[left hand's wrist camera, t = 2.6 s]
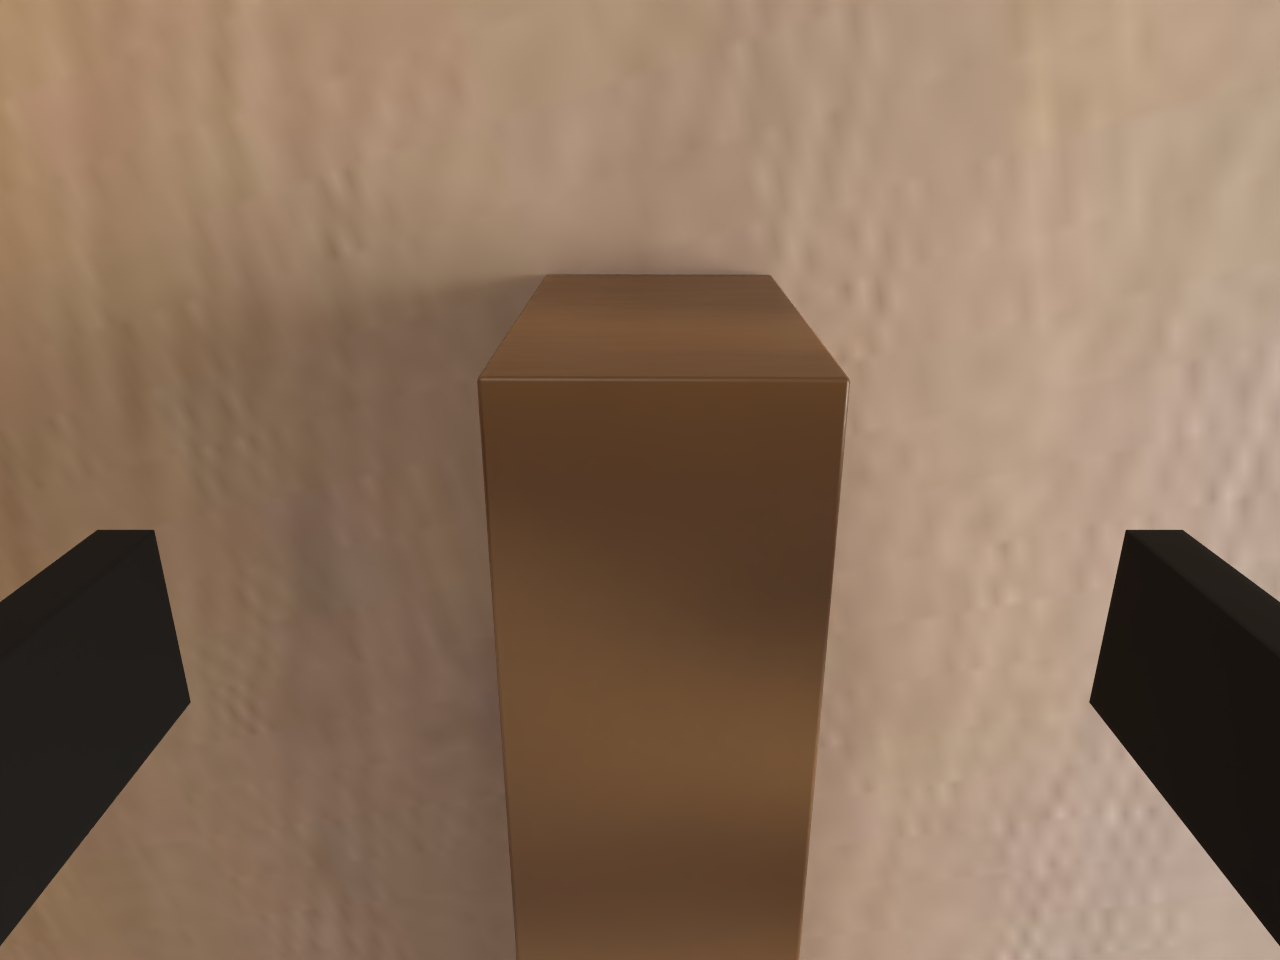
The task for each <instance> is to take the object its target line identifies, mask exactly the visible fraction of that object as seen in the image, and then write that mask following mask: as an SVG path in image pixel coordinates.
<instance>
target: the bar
mask: <svg viewBox="0 0 1280 960" xmlns="http://www.w3.org/2000/svg"><path fill="white" fill-rule="evenodd" d="M477 384H478V399H479V414H480V428H481V443H482V458H483V472H484V487H485V501H486V516H487V531H488V545H489V560H490V575H491V589H492V604H493V618H494V633H495V648H496V662H497V677H498V692H499V706H500V721H501V735H502V750H503V765H504V779H505V794H506V808H507V823H508V838H509V852H510V867H511V882H512V896H513V911H514V925H515V940H516V955H517V960H799V954H800V943H801V931H802V920H803V909H804V897H805V886H806V875H807V863H808V852H809V841H810V829H811V818H812V807H813V795H814V784H815V773H816V761H817V750H818V739H819V727H820V716H821V705H822V693H823V682H824V671H825V659H826V648H827V637H828V625H829V614H830V603H831V591H832V580H833V569H834V557H835V546H836V535H837V523H838V512H839V501H840V489H841V478H842V467H843V455H844V444H845V433H846V421H847V410H848V399H849V387H850V381H849V378H848V377H847V376H846V374H845V373H844V372H843V370H842V369H841V368H840V366H839V365H838V364H837V362H836V361H835V360H834V358H833V357H832V356H831V354H830V353H829V352H828V350H827V349H826V348H825V346H824V345H823V344H822V343H821V341H820V340H819V339H818V337H817V336H816V335H815V333H814V332H813V331H812V329H811V328H810V327H809V325H808V324H807V323H806V321H805V320H804V319H803V317H802V316H801V315H800V313H799V312H798V311H797V309H796V308H795V307H794V305H793V304H792V303H791V302H790V300H789V299H788V298H787V296H786V295H785V294H784V292H783V291H782V290H781V288H780V287H779V286H778V284H777V283H776V282H775V280H774V279H773V278H772V276H770V275H546V277H545V278H544V280H543V281H542V283H541V284H540V286H539V287H538V289H537V290H536V292H535V293H534V295H533V296H532V298H531V299H530V301H529V302H528V304H527V305H526V307H525V308H524V310H523V311H522V313H521V314H520V316H519V317H518V319H517V320H516V322H515V323H514V325H513V326H512V328H511V329H510V331H509V332H508V334H507V335H506V337H505V338H504V340H503V341H502V343H501V344H500V346H499V347H498V349H497V350H496V352H495V353H494V355H493V356H492V358H491V359H490V361H489V362H488V364H487V365H486V367H485V368H484V370H483V371H482V373H481V374H480V376H479V378H478V380H477Z"/></svg>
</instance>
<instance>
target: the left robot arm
mask: <svg viewBox="0 0 1280 960" xmlns="http://www.w3.org/2000/svg"><path fill="white" fill-rule="evenodd" d="M189 704H190V697H189V692H188V688H187V683H186V678H185V673H184V669H183V664H182V659H181V655H180V650H179V645H178V640H177V636H176V631H175V626H174V622H173V617H172V612H171V607H170V603H169V598H168V593H167V588H166V584H165V579H164V574H163V570H162V565H161V560H160V555H159V551H158V546H157V541H156V537H155V532H154V530H97V531H95V532H94V533H93V534H91V535H90V536H89V537H87V538H86V539H85V540H83V541H82V542H81V543H79V544H78V545H76V546H75V547H74V548H72V549H71V550H70V551H68V552H67V553H66V554H64V555H63V556H62V557H60V558H59V559H58V560H56V561H55V562H54V563H52V564H51V565H50V566H48V567H47V568H46V569H44V570H43V571H41V572H40V573H39V574H37V575H36V576H35V577H33V578H32V579H31V580H29V581H28V582H27V583H25V584H24V585H23V586H21V587H20V588H19V589H17V590H16V591H15V592H13V593H12V594H11V595H9V596H8V597H6V598H5V599H4V600H2V601H1V602H0V946H1V944H2V943H3V942H4V940H5V939H6V938H7V937H8V935H9V934H10V933H11V932H12V930H13V929H14V928H15V926H16V925H17V924H18V923H19V921H20V920H21V919H22V917H23V916H24V915H25V914H26V912H27V911H28V910H29V908H30V907H31V906H32V905H33V903H34V902H35V901H36V899H37V898H38V897H39V896H40V894H41V893H42V892H43V891H44V889H45V888H46V887H47V885H48V884H49V883H50V882H51V880H52V879H53V878H54V876H55V875H56V874H57V873H58V871H59V870H60V869H61V867H62V866H63V865H64V864H65V862H66V861H67V860H68V859H69V857H70V856H71V855H72V853H73V852H74V851H75V850H76V848H77V847H78V846H79V844H80V843H81V842H82V841H83V839H84V838H85V837H86V835H87V834H88V833H89V832H90V830H91V829H92V828H93V827H94V825H95V824H96V823H97V821H98V820H99V819H100V818H101V816H102V815H103V814H104V812H105V811H106V810H107V809H108V807H109V806H110V805H111V803H112V802H113V801H114V800H115V798H116V797H117V796H118V795H119V793H120V792H121V791H122V789H123V788H124V787H125V786H126V784H127V783H128V782H129V780H130V779H131V778H132V777H133V775H134V774H135V773H136V771H137V770H138V769H139V768H140V766H141V765H142V764H143V763H144V761H145V760H146V759H147V757H148V756H149V755H150V754H151V752H152V751H153V750H154V748H155V747H156V746H157V745H158V743H159V742H160V741H161V739H162V738H163V737H164V736H165V734H166V733H167V732H168V731H169V729H170V728H171V727H172V725H173V724H174V723H175V722H176V720H177V719H178V718H179V716H180V715H181V714H182V713H183V711H184V710H185V709H186V707H187V706H188V705H189ZM1090 704H1091V705H1092V706H1093V707H1094V709H1095V710H1096V711H1097V713H1098V714H1099V715H1100V716H1101V718H1102V719H1103V720H1104V722H1105V723H1106V724H1107V725H1108V727H1109V728H1110V729H1111V731H1112V732H1113V733H1114V734H1115V736H1116V737H1117V738H1118V739H1119V741H1120V742H1121V743H1122V745H1123V746H1124V747H1125V748H1126V750H1127V751H1128V752H1129V754H1130V755H1131V756H1132V757H1133V759H1134V760H1135V761H1136V763H1137V764H1138V765H1139V766H1140V768H1141V769H1142V770H1143V771H1144V773H1145V774H1146V775H1147V777H1148V778H1149V779H1150V780H1151V782H1152V783H1153V784H1154V786H1155V787H1156V788H1157V789H1158V791H1159V792H1160V793H1161V795H1162V796H1163V797H1164V798H1165V800H1166V801H1167V802H1168V803H1169V805H1170V806H1171V807H1172V809H1173V810H1174V811H1175V812H1176V814H1177V815H1178V816H1179V818H1180V819H1181V820H1182V821H1183V823H1184V824H1185V825H1186V827H1187V828H1188V829H1189V830H1190V832H1191V833H1192V834H1193V835H1194V837H1195V838H1196V839H1197V841H1198V842H1199V843H1200V844H1201V846H1202V847H1203V848H1204V850H1205V851H1206V852H1207V853H1208V855H1209V856H1210V857H1211V859H1212V860H1213V861H1214V862H1215V864H1216V865H1217V866H1218V867H1219V869H1220V870H1221V871H1222V873H1223V874H1224V875H1225V876H1226V878H1227V879H1228V880H1229V882H1230V883H1231V884H1232V885H1233V887H1234V888H1235V889H1236V891H1237V892H1238V893H1239V894H1240V896H1241V897H1242V898H1243V900H1244V901H1245V902H1246V903H1247V905H1248V906H1249V907H1250V908H1251V910H1252V911H1253V912H1254V914H1255V915H1256V916H1257V917H1258V919H1259V920H1260V921H1261V923H1262V924H1263V925H1264V926H1265V928H1266V929H1267V930H1268V932H1269V933H1270V934H1271V935H1272V937H1273V938H1274V939H1275V940H1276V942H1277V943H1278V944H1279V946H1280V602H1279V601H1278V600H1276V599H1275V598H1274V597H1272V596H1271V595H1269V594H1268V593H1267V592H1265V591H1264V590H1263V589H1261V588H1260V587H1259V586H1257V585H1256V584H1255V583H1253V582H1252V581H1251V580H1249V579H1248V578H1247V577H1245V576H1244V575H1243V574H1241V573H1240V572H1239V571H1237V570H1236V569H1234V568H1233V567H1232V566H1230V565H1229V564H1228V563H1226V562H1225V561H1224V560H1222V559H1221V558H1220V557H1218V556H1217V555H1216V554H1214V553H1213V552H1212V551H1210V550H1209V549H1208V548H1206V547H1205V546H1204V545H1202V544H1201V543H1199V542H1198V541H1197V540H1195V539H1194V538H1193V537H1191V536H1190V535H1189V534H1187V533H1186V532H1185V531H1183V530H1126V532H1125V537H1124V541H1123V546H1122V551H1121V555H1120V560H1119V565H1118V570H1117V574H1116V579H1115V584H1114V588H1113V593H1112V598H1111V603H1110V607H1109V612H1108V617H1107V622H1106V626H1105V631H1104V636H1103V640H1102V645H1101V650H1100V655H1099V659H1098V664H1097V669H1096V673H1095V678H1094V683H1093V688H1092V692H1091V697H1090Z"/></svg>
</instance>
